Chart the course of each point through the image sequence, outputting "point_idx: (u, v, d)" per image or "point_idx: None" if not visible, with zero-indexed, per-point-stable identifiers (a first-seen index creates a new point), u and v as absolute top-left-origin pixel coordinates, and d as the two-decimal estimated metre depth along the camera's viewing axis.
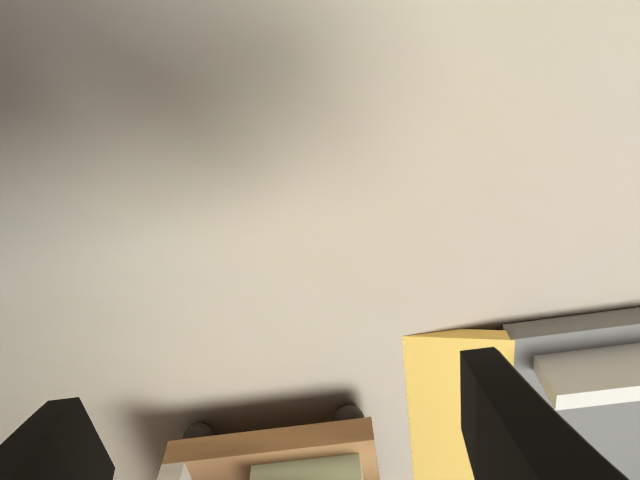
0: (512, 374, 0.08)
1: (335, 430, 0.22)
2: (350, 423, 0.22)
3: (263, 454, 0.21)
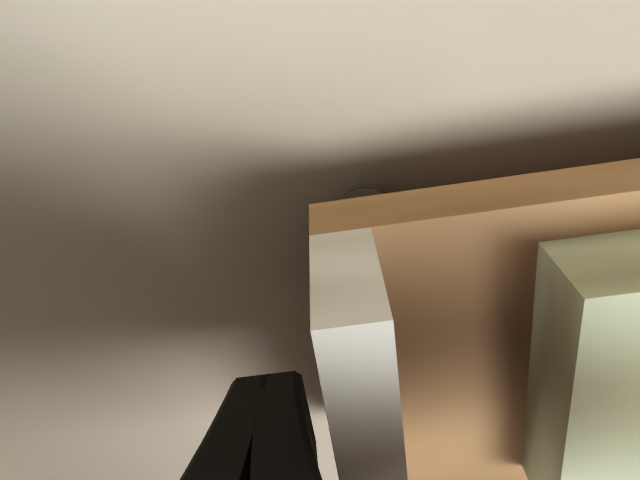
0: (289, 401, 0.08)
1: None
2: None
3: (582, 203, 0.08)
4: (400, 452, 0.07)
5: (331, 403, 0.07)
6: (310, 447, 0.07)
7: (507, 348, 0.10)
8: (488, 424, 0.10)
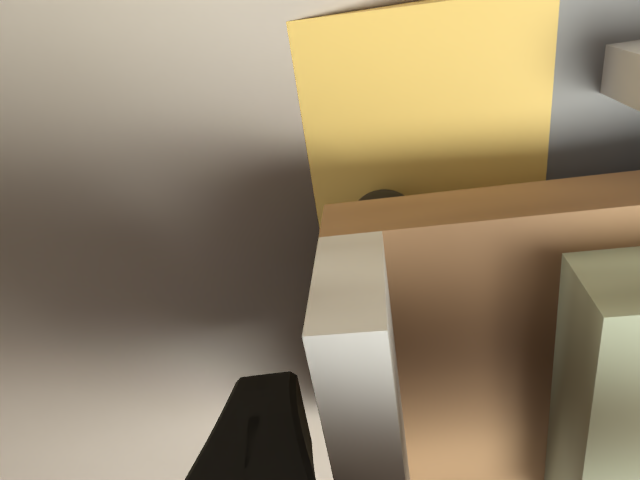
0: (284, 401, 0.08)
1: None
2: None
3: (612, 214, 0.08)
4: (398, 465, 0.07)
5: (325, 411, 0.07)
6: (304, 448, 0.07)
7: (528, 362, 0.09)
8: (507, 440, 0.10)
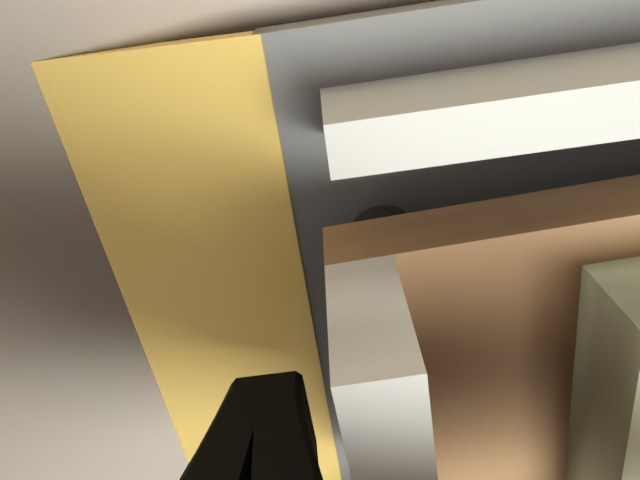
0: (290, 401, 0.08)
1: None
2: None
3: (632, 222, 0.07)
4: None
5: (356, 465, 0.06)
6: (311, 447, 0.07)
7: (546, 380, 0.09)
8: (526, 460, 0.10)
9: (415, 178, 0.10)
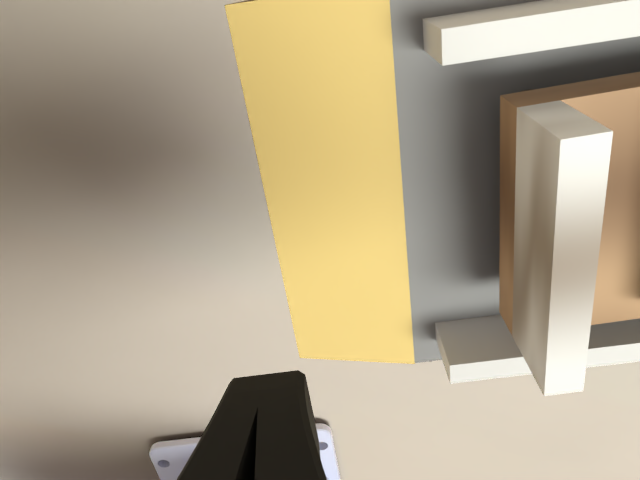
0: (293, 400, 0.08)
1: None
2: None
3: None
4: (598, 236, 0.11)
5: (562, 195, 0.11)
6: (314, 446, 0.07)
7: None
8: (620, 263, 0.14)
9: (480, 82, 0.14)
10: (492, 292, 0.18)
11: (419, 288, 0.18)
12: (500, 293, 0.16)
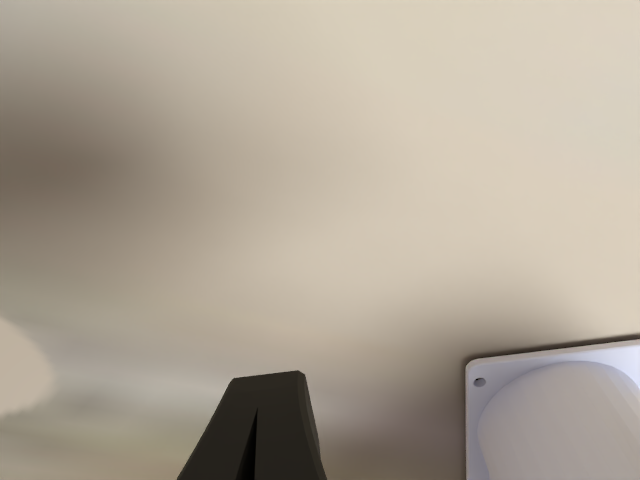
0: (293, 400, 0.08)
1: None
2: None
3: None
4: None
5: None
6: (314, 446, 0.07)
7: None
8: None
9: None
10: None
11: None
12: None
